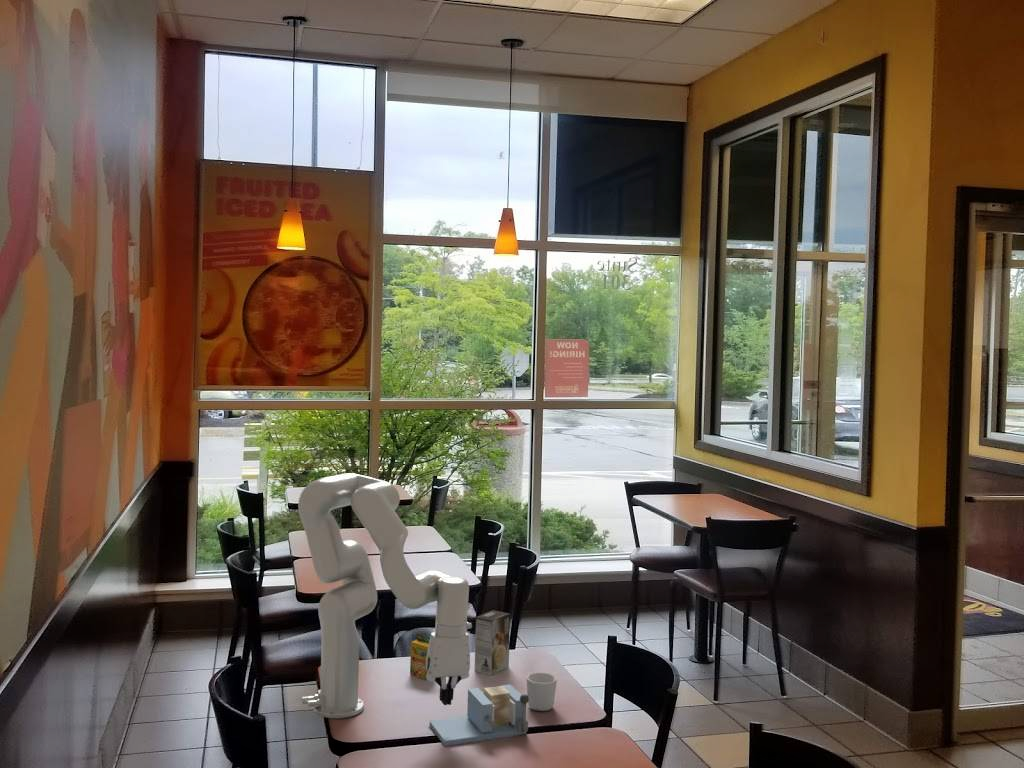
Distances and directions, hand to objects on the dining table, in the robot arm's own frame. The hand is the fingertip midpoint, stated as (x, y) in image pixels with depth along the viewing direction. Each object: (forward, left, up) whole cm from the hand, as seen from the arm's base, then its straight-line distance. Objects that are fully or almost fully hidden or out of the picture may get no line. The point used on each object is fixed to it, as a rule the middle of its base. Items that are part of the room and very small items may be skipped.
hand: (445, 702), depth 219 cm
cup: (+29, +8, -8) cm, 31 cm away
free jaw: (+9, -3, -6) cm, 11 cm away
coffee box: (+27, +37, -8) cm, 46 cm away
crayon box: (+6, +37, -8) cm, 38 cm away
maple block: (+13, -1, -6) cm, 14 cm away
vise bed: (+8, -2, -8) cm, 11 cm away
